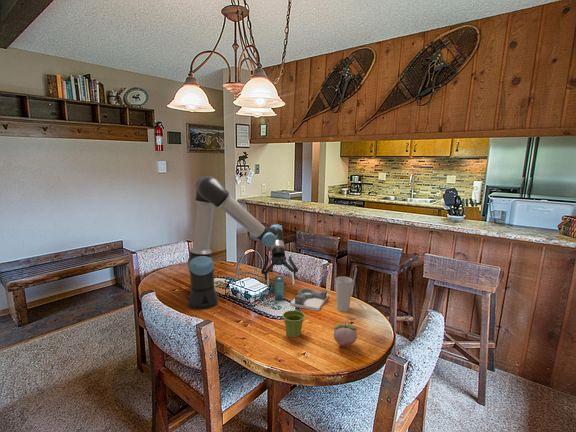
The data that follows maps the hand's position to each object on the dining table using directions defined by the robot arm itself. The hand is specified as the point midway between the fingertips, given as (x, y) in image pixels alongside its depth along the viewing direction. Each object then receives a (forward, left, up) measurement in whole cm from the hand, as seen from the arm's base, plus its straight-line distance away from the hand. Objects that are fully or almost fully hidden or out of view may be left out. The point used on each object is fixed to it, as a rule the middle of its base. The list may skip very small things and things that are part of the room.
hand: (281, 284), depth 172 cm
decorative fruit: (-31, -42, -7) cm, 52 cm away
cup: (0, -34, -7) cm, 35 cm away
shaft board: (+2, -16, -7) cm, 17 cm away
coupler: (-2, 0, -7) cm, 7 cm away
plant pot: (-31, -20, -8) cm, 37 cm away
